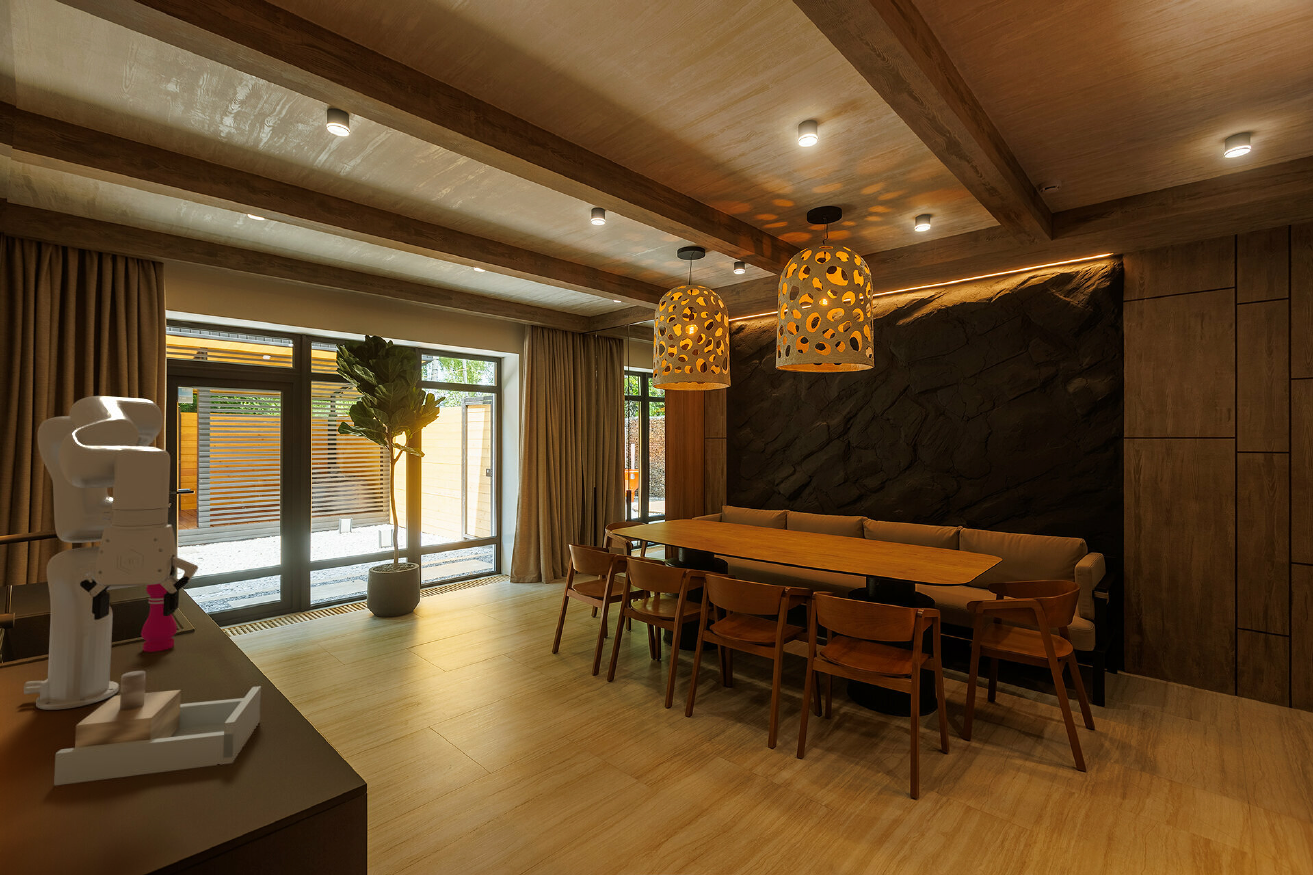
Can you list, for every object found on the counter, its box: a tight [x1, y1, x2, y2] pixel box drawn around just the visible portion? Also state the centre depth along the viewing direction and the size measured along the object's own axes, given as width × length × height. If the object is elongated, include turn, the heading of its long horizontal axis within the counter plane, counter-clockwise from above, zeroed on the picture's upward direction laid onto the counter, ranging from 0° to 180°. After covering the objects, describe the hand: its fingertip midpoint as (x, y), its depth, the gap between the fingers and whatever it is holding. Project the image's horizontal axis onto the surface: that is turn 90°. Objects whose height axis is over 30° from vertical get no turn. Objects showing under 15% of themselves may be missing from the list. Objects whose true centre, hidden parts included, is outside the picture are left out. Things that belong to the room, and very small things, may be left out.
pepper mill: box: [140, 583, 178, 653], centre depth 157 cm, size 7×7×20 cm
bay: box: [53, 685, 262, 786], centre depth 106 cm, size 24×16×7 cm, turn 110°
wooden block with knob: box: [74, 670, 182, 748], centre depth 105 cm, size 10×12×13 cm
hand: (135, 615), depth 105 cm, fingers open, 9 cm apart
